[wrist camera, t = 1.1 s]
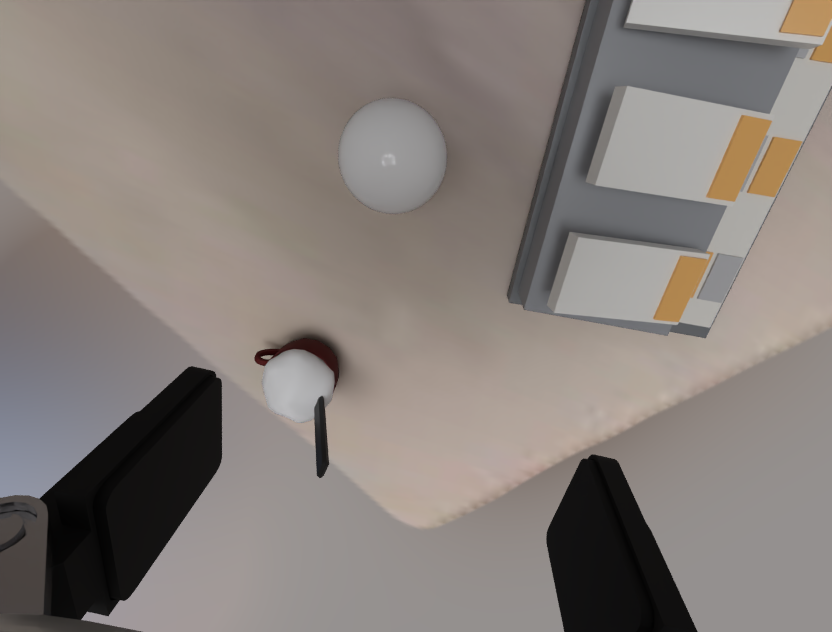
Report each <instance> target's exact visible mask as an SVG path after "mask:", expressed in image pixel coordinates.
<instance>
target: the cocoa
mask: <svg viewBox="0 0 832 632" xmlns="http://www.w3.org/2000/svg"><path fill="white" fill-rule="evenodd" d="M265 355H274V356H273V357H272V358H271V359H269V360H267V359H263V358H261V357H262V356H265ZM255 362H256V363H257V364H259V365H263V366H265V369H264V373H263V379H262V386H263V390H264V394H265V398H266V402H267V405H268V408H269V409H271V410H272V411H273V412H274V413H275V414H278V415H281V416H284V417H287V418H289V419H291V420H293V421H295V422H297V423H304V422H307V421H310V420H312V419H314V420H315V443H316V466H317V476H318V477H319V478H321V477H322V476H324V474H325V472H326V470H327V467H328V465H329V457H328V444H327V430H326V417H325V408H326V406H327V405H328V404H329V403H330V402H331V400H332V396H333V392H334V389H335V387H336V384H337V381H338V378H339V368H338V362H337V358H336V356H335V355H334V353H333V352H332V351H331V349H330V348H329V347H328V346H326V345H324V344H323V343H321V342H320V341H318V340H312V339H307V338H303V339H299V340H295V341H292V342H290V343H288V344H286V345H285V346H283V347H282V348H281V349H265V350H261V351H258V352H257V353H256V355H255Z"/></svg>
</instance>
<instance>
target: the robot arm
mask: <svg viewBox="0 0 832 632" xmlns="http://www.w3.org/2000/svg"><path fill="white" fill-rule="evenodd" d="M221 459H222V382H221V379H219V378H216V374H215V372H214V371H211V370H206V369H202V368H197V367H193V366H191V367H188V368H187V369H186V370H185V371H184V372H182V374H180V375H179V376H178V377H177V378H176V379H175V380H174V381H173V382H172V383H170V384H169V385H168V386H167V387H166V388H165V389H164V390H163V391H162V392H161V393H160V394H158V395H157V396H156V397H155V398H154V399H153V400H152V401H151V402H150V403H149V404H147V405H146V406H145V407H144V408H143V409H142V410H141V411H139V412H136V413H134V414H133V415H132V416H130V417H129V418H128V419H127V420H126V421H125V422H124V423H123V424H121V425H120V426H119V427H118V428H117V429H116V430H115V431H114V432H113V433H111V434H110V436H108V437H107V438H106V439H105V440H104V441H103V442H102V443H101V444H99V445H98V446H97V447H96V448H95V449H94V450H93V451H92V452H90V453H89V454H88V455H87V456H86V457H85V458H84V459H83V460H82V461H81V462H79V463H78V464H77V465H76V466H75V467H74V468H73V469H72V470H70V471H69V472H68V473H67V474H66V475H65V476H64V477H63V478H62V479H61V480H60V481H58V482H57V483H56V484H55V485H54V486H53V487H52V488H51V489H49V490H48V491H47V492H46V493H45V494H44V495H43V496H42V497H41V498H40V499H38V498H35V497H31V496H23V495H21V496H20V495H14V496H8V497H3V498H0V632H141V631H136V630H131V629H126V628H121V627H115V626H110V625H105V624H100V623H95V622H90V621H83V620H81V619H82V618H83V616H84V615H85V614H86V612H92V613H97V614H101V615H105V616H109V614H110V613H111V612H112V610H113V609H114V607H115V606H116V604H117V603H118V602H119V600H123V601H125V600H127V599H128V598H129V597H130V596H131V594H132V593H133V592H134V591H135V589H136V588H137V586H138V585H139V583H140V582H141V580H142V579H143V578H144V576H145V574H146V573H147V572H148V570H149V569H150V567H151V566H152V564H153V563H154V561H155V560H156V559H157V557H158V556H159V554H160V553H161V551H162V550H163V548H164V547H165V546H166V544H167V543H168V541H169V540H170V538H171V537H172V536H173V534H174V533H175V531H176V530H177V528H178V526H179V525H180V524H181V522H182V521H183V520H184V518H185V517H186V515H187V514H188V512H189V511H190V509H191V508H192V506H193V505H194V503H195V502H196V501H197V499H198V498H199V496H200V495H201V494H202V492H203V491H204V489H205V488H206V486H207V485H208V483H209V482H210V480H211V479H212V478H213V476H214V475H215V473H216V472H217V470H218V468H219V466H220V463H221ZM547 547H548V552H549V558H550V563H551V567H552V573H553V578H554V582H555V588H556V593H557V598H558V603H559V607H560V612H561V617H562V622H563V627H564V632H697V630H696V628H695V625H694V623H693V621H692V619H691V617H690V615H689V612H688V610H687V608H686V606H685V604H684V601H683V599H682V597H681V595H680V593H679V591H678V588H677V586H676V584H675V582H674V580H673V578H672V575H671V573H670V571H669V569H668V567H667V565H666V562H665V560H664V558H663V556H662V554H661V551H660V549H659V547H658V545H657V543H656V541H655V538H654V536H653V534H652V532H651V530H650V528H649V527H648V525H647V524H646V522H645V520H644V518H643V515H642V514H641V511H640V509H639V507H638V504H637V502H636V500H635V498H634V496H633V494H632V492H631V489H630V487H629V485H628V483H627V480H626V478H625V476H624V474H623V472H622V469H621V467H620V465H619V463H618V462H617V460H615V459H611V458H607V457H602V456H598V455H591V456H589V458H588V459H582V460H581V462H580V464H579V466H578V468H577V470H576V472H575V474H574V476H573V478H572V480H571V482H570V484H569V486H568V488H567V490H566V493H565V495H564V497H563V499H562V501H561V503H560V505H559V507H558V509H557V511H556V513H555V515H554V517H553V520H552V522H551V524H550V526H549V528H548V531H547Z"/></svg>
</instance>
